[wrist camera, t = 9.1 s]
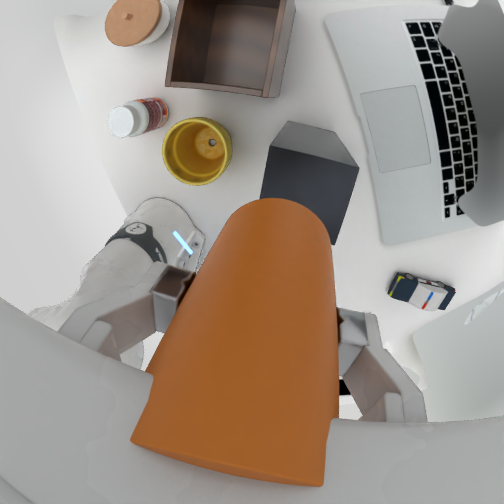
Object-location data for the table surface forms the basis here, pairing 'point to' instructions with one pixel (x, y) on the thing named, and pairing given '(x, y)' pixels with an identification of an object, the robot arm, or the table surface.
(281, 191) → the stand
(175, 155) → the flower pot
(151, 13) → the trinket box
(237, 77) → the chest
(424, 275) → the table surface
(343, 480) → the robot arm
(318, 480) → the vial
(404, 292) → the toy car
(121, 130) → the pill bottle
